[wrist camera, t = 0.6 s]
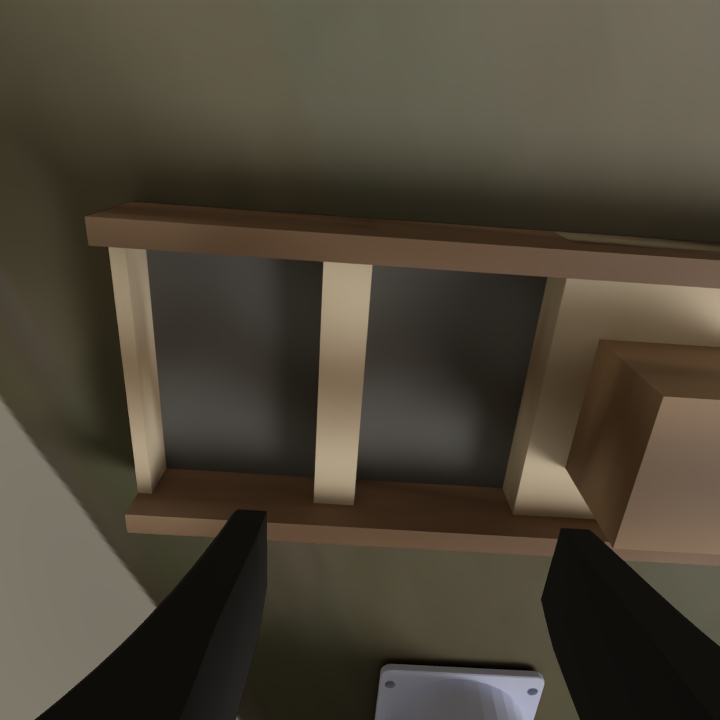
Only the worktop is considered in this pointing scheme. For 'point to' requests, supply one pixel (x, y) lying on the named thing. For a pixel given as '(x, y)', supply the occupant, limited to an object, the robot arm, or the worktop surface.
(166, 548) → the worktop surface
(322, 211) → the worktop surface
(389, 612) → the worktop surface
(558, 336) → the brown wooden open box
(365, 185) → the worktop surface
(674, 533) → the walnut block
